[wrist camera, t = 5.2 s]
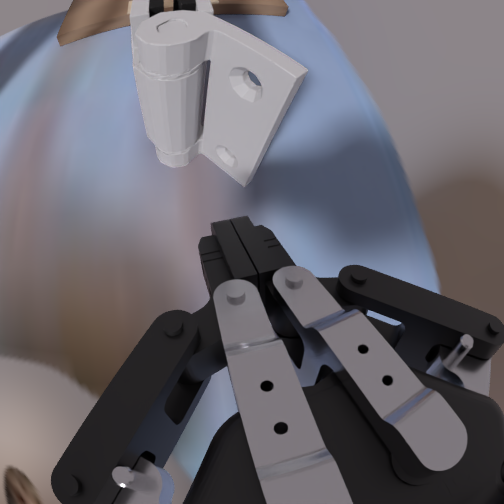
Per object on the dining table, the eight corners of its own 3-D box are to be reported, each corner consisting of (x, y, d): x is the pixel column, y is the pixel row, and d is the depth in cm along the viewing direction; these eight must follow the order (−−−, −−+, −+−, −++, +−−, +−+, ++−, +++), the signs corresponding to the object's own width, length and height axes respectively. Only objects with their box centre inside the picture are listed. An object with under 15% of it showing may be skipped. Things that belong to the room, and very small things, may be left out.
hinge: (255, 183, 18) (314, 76, 8) (176, 215, 16) (155, 112, 7) (184, 52, 19) (191, -45, 9) (123, 71, 17) (106, -27, 8)
